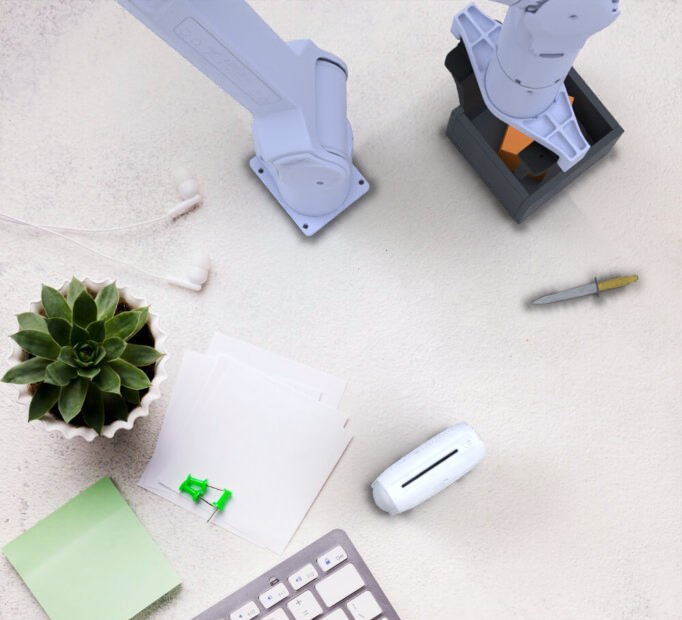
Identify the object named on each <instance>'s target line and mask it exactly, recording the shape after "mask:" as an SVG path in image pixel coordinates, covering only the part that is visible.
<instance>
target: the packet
mask: <svg viewBox="0 0 682 620" xmlns="http://www.w3.org/2000/svg"><path fill="white" fill-rule="evenodd" d="M568 97H569V100H570V103H571V106H572V103H573V100H574V97H571V96H568ZM533 141H534V140H533V139H532V138H530V137H528V136H527V135H525V134H523V133H522V132H520V131H518V130H517V129H515V128H514V127H512V126H510V125H509V124H508V125H507V128H506V131H505V134H504V137H503V140H502V143H501V146H500V149H499V151H498V154H497V155H498V156H499V157H500V159H501V160H502V161H503V162H504V164H505V165H506V166H507V167H508V169H509V170H511V171H514V172H515V170H516V169H517V167H518V165H519V162H520V158H519V157H518V156H517V154H518V153H519V152H520V151H521V150H523V149H524V148H525V147H526V146H528V145H529V144H530V143H531V142H533ZM549 169H550V168H549ZM549 169H548V170H549ZM548 170H547V171H546V172H544V173H542V174H541V175H538V176H534V175H533V174H528V175H526V176H528V177H531V178H534V179H537V180H539V181H542V180H543V178H544V177H545V175H546V173H547V172H548Z"/></svg>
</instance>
